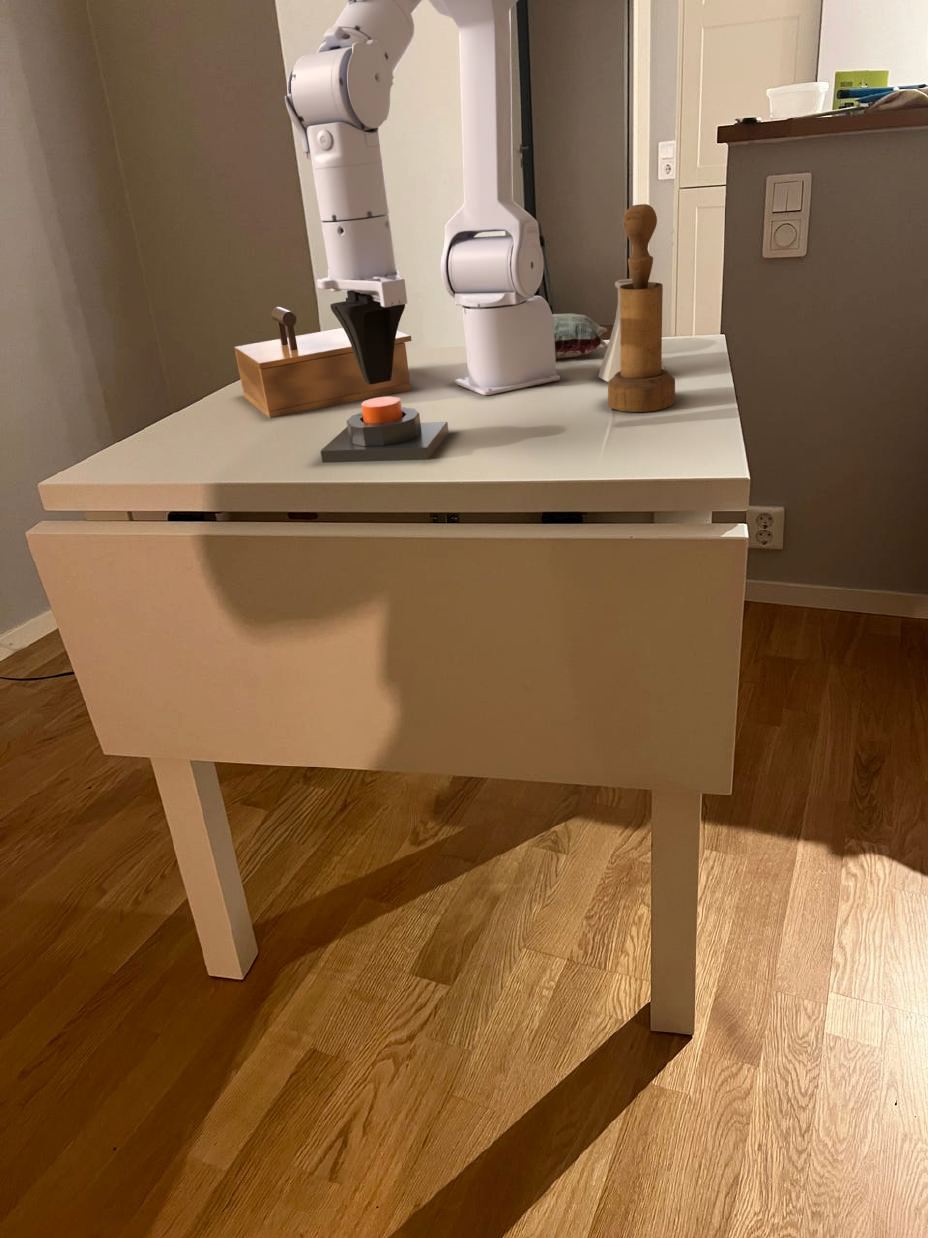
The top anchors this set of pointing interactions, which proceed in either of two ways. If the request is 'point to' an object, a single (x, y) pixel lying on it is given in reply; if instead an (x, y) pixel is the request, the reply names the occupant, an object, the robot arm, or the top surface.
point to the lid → (299, 344)
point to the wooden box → (316, 383)
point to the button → (381, 410)
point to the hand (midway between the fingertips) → (378, 381)
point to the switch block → (386, 440)
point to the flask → (614, 343)
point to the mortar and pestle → (641, 326)
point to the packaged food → (576, 335)
